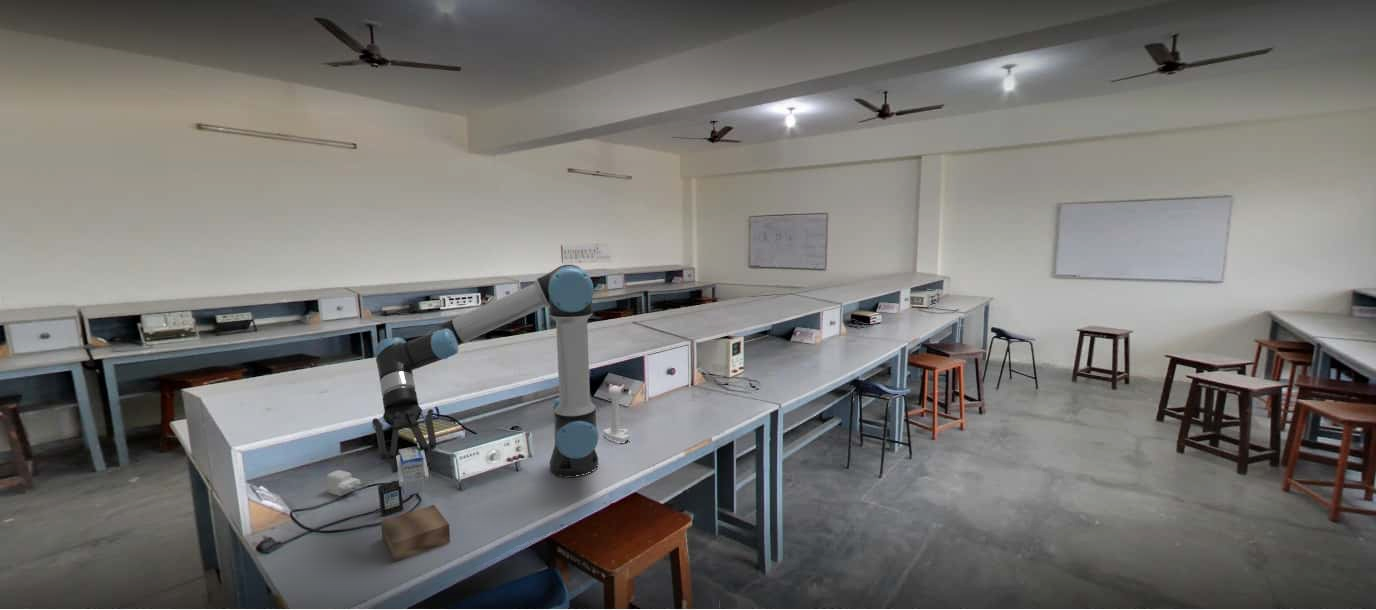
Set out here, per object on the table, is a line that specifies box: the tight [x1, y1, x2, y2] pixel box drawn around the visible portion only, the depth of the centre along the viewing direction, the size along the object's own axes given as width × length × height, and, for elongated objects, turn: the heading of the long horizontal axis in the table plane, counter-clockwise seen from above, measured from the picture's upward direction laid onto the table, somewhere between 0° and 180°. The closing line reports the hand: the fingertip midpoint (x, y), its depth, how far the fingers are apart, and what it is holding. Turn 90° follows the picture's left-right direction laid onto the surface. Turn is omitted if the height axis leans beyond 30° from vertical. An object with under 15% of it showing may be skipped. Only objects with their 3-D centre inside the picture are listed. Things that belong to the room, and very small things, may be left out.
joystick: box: [602, 384, 631, 442], centre depth 191 cm, size 11×8×20 cm
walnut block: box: [380, 504, 451, 563], centre depth 128 cm, size 12×12×5 cm
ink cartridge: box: [377, 480, 404, 517], centre depth 140 cm, size 5×2×8 cm, turn 131°
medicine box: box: [397, 445, 426, 497], centre depth 126 cm, size 8×4×9 cm, turn 36°
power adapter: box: [326, 469, 366, 497], centre depth 150 cm, size 11×5×6 cm, turn 69°
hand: (414, 480), depth 123 cm, fingers closed on medicine box, 4 cm apart
